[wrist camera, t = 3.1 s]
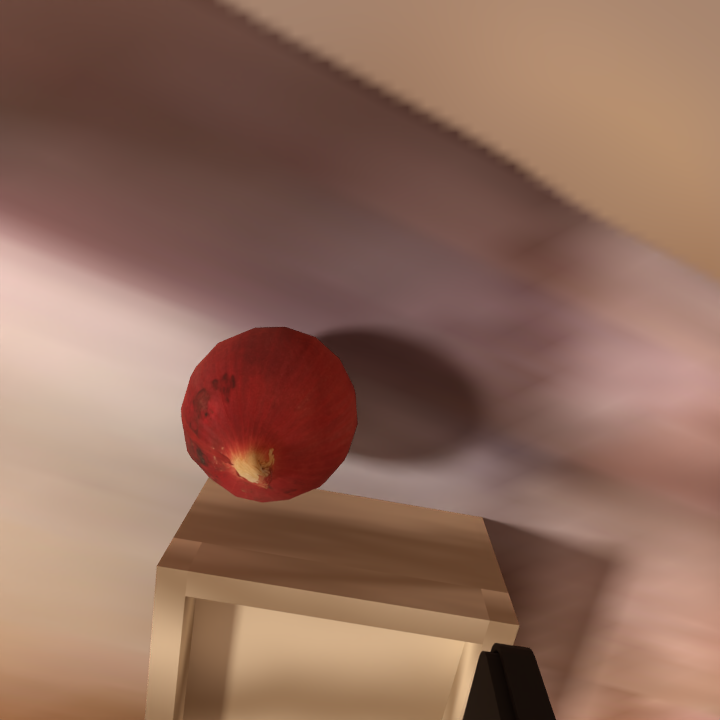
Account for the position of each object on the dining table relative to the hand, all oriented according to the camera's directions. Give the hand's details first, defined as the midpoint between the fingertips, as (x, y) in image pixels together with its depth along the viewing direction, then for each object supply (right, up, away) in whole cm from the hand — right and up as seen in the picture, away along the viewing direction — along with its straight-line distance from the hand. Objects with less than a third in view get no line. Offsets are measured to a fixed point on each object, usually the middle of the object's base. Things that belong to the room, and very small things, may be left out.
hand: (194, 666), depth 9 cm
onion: (0, +4, +13) cm, 14 cm away
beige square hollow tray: (+1, -6, +17) cm, 18 cm away
